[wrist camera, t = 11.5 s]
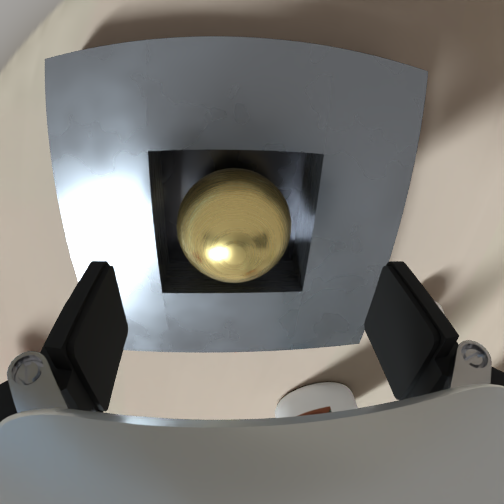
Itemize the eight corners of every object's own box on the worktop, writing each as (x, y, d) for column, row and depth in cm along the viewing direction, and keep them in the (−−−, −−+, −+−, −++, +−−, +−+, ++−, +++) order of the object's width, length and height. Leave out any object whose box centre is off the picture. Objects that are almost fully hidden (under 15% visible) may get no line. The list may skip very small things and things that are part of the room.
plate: (395, 68, 13) (428, 71, 10) (345, 312, 21) (359, 343, 19) (74, 59, 11) (45, 59, 9) (112, 315, 19) (102, 348, 17)
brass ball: (286, 157, 15) (310, 193, 11) (277, 246, 17) (293, 306, 13) (182, 156, 14) (162, 191, 10) (186, 245, 17) (174, 305, 13)
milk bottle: (354, 370, 25) (419, 576, 8) (348, 409, 29) (394, 572, 12) (268, 390, 25) (303, 609, 8) (278, 425, 30) (306, 595, 13)
